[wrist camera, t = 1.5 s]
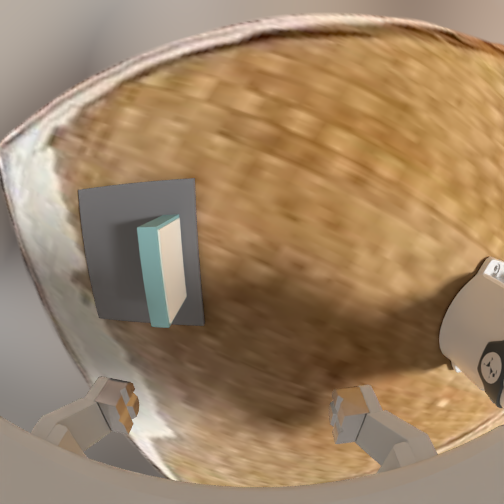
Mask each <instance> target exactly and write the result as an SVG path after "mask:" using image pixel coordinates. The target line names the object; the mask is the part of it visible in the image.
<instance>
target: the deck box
mask: <svg viewBox="0 0 504 504" xmlns="http://www.w3.org/2000/svg"><path fill="white" fill-rule="evenodd" d="M137 233H138V243H139V251H140V259H141V267H142V274H143V281H144V287H145V293H146V299H147V305H148V311H149V316H150V321H151V326H152V327H163V328H169V327H170V325H171V323H172V322H173V320H174V318H175V316H176V315H177V313H178V311H179V309H180V308H181V306H182V304H183V302H184V301H185V299H186V297H187V294H186V285H185V276H184V265H183V254H182V242H181V229H180V218H179V214H177V215H162V216H160V217H158V218H156V219H154V220H152V221H150V222H147V223H145V224H143V225H141V226H139V227H137Z"/></svg>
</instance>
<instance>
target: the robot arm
mask: <svg viewBox="0 0 504 504" xmlns="http://www.w3.org/2000/svg"><path fill="white" fill-rule="evenodd" d="M439 345H440V349H441V351H442V353H443V355H444V356H445V357H447V358H448V359H449V360H451V363H452V367H453V369H454V370H455V371H456V372H461V371H462V372H463V373H464V374H465V375H466V376H467V377H468V378H469V379H470V380H471V381H472V382H473V383H474V384H475V385H476V386H477V387H478V388H479V389H481V390H483V391H484V390H485V392H486V393H487V395H488V396H489V397H490V400H491V401H492V402H493V403H495V404H496V406H497V407H499V408H503V409H504V261H502V260H499V259H496V258H493V257H488V258H487V259H486V260H485V261H484V263H483V264H482V266H481V268H480V269H479V271H478V273H477V274H476V275H475V276H474V278H472V279H471V280H470V281H469V282H468V283H467V284H466V285H465V286H464V287H463V288H462V289H461V290H460V292H459V293H458V294H457V295H456V297H455V298H454V300H453V301H452V303H451V305H450V306H449V308H448V310H447V312H446V315H445V317H444V319H443V322H442V325H441V329H440V335H439ZM134 390H135V388H134V386H133V383H131V382H127V381H122V380H117V379H112V378H107V377H102V376H101V377H99V378H98V379H97V380H96V382H95V383H94V385H93V386H92V388H91V389H90V391H89V392H88V393H87V395H86V397H85V398H84V399H83V398H80V399H78V400H76V401H74V402H72V403H70V404H68V405H66V406H64V407H62V408H59V409H57V410H55V411H53V412H50V413H48V414H46V415H44V416H42V417H41V418H40V420H39V421H38V423H37V424H36V425H35V427H34V428H33V430H32V431H31V432H30V433H29V432H27V431H25V430H24V429H21V428H20V427H18V426H16V425H14V424H13V423H11V422H9V421H8V420H6V419H4V418H2V417H1V416H0V504H504V425H501V426H498V427H496V428H494V429H493V430H491V431H489V432H487V433H485V434H483V435H481V436H479V437H477V438H475V439H473V440H471V441H469V442H467V443H465V444H462V445H460V446H458V447H456V448H453V449H451V450H449V451H446V452H444V453H441V454H439V455H438V454H437V452H436V450H435V448H434V446H433V444H432V442H431V440H430V438H429V436H428V435H427V434H426V433H424V432H422V431H421V430H419V429H417V428H415V427H414V426H412V425H410V424H408V423H407V422H405V421H403V420H402V419H400V418H398V417H397V416H395V415H393V414H392V413H390V412H388V411H387V410H384V411H383V410H382V408H381V406H380V404H379V401H378V399H377V397H376V395H375V393H374V391H373V389H372V387H371V385H363V386H358V387H357V386H356V387H348V388H339V389H334V390H333V393H332V398H333V401H332V402H331V403H330V406H329V421H330V424H331V425H332V426H333V427H334V428H333V432H332V433H333V437H334V441H335V444H341V443H349V442H355V443H356V444H357V445H359V446H360V447H361V448H362V449H363V450H364V451H365V452H366V453H368V454H369V455H370V456H371V457H372V458H373V459H374V460H375V461H377V462H378V463H379V464H380V465H381V467H380V469H379V470H378V472H377V473H376V474H373V475H368V476H364V477H359V478H353V479H348V480H342V481H336V482H329V483H321V484H312V485H301V486H287V487H231V486H216V485H205V484H196V483H188V482H182V481H175V480H169V479H164V478H159V477H153V476H149V475H144V474H140V473H136V472H132V471H128V470H124V469H120V468H117V467H113V466H110V465H107V464H104V463H101V462H98V461H95V460H92V459H89V458H87V456H86V455H85V454H84V451H85V450H87V449H88V448H89V447H91V446H92V445H94V444H95V443H96V442H98V441H99V440H100V439H102V438H103V437H105V436H106V435H107V434H109V433H110V432H111V431H114V432H119V433H124V434H129V432H130V430H131V428H132V425H133V422H132V419H133V418H135V417H136V416H137V414H138V412H139V400H138V397H137V396H136V395H135V394H134V393H133V392H134Z"/></svg>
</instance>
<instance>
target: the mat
mask: <svg viewBox="0 0 504 504" xmlns="http://www.w3.org/2000/svg"><path fill="white" fill-rule="evenodd" d="M78 193H79V205H80V215H81V224H82V233H83V240H84V247H85V253H86V259H87V265H88V270H89V276H90V281H91V286H92V290H93V295H94V299H95V304H96V308H97V312H98V316H99V318H103V319H112V320H122V321H133V322H145V323H151V321H150V316H149V311H148V305H147V299H146V293H145V287H144V281H143V274H142V267H141V259H140V251H139V243H138V233H137V227H139V226H141V225H143V224H145V223H147V222H150V221H152V220H154V219H156V218H158V217H160V216H162V215H177V214H179V218H180V229H181V242H182V254H183V265H184V276H185V285H186V294H187V297H186V299H185V301H184V302H183V304H182V306H181V308H180V309H179V311H178V313H177V315H176V316H175V318H174V320H173V322H172V323H171V324H175V325H196V326H204V324H205V320H204V310H203V299H202V288H201V276H200V264H199V250H198V235H197V217H196V196H195V178H191V179H176V180H162V181H151V182H140V183H130V184H121V185H112V186H104V187H96V188H89V189H82V190H78Z"/></svg>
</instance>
